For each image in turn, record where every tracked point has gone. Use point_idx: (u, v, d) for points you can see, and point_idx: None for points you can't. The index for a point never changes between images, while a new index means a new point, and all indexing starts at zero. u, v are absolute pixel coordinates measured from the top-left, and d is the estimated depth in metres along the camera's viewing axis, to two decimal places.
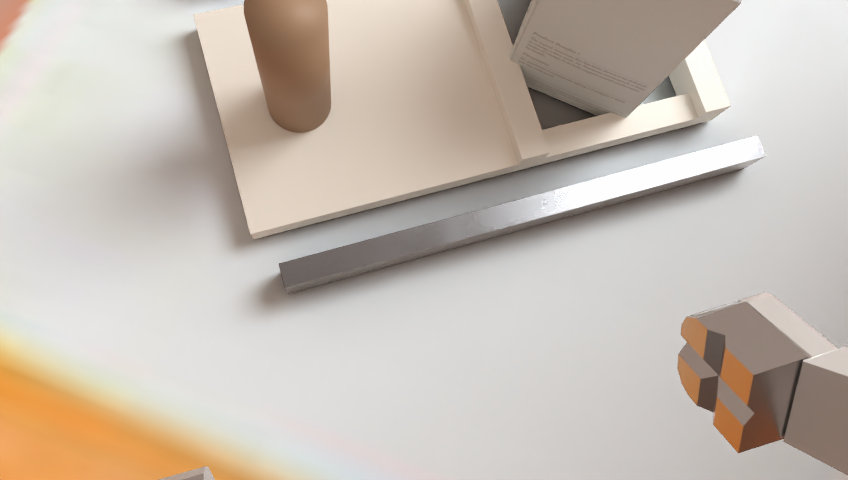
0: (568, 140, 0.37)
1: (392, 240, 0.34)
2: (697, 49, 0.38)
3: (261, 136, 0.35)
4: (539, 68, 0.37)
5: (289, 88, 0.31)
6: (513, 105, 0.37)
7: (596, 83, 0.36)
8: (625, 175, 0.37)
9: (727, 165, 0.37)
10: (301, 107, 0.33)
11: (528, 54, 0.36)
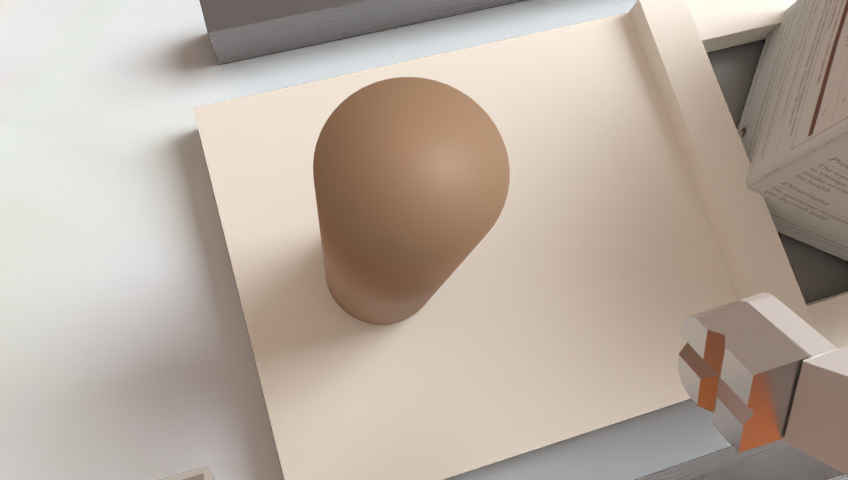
0: (845, 327, 0.21)
1: None
2: None
3: (315, 333, 0.20)
4: (803, 206, 0.21)
5: (392, 298, 0.15)
6: (758, 272, 0.21)
7: None
8: None
9: None
10: (402, 309, 0.17)
11: (795, 185, 0.20)
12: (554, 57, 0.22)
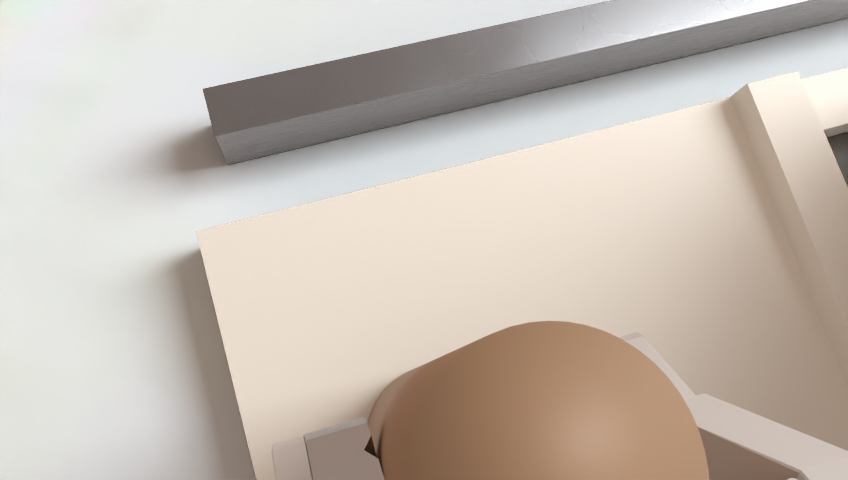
0: None
1: None
2: None
3: None
4: None
5: None
6: None
7: None
8: None
9: None
10: None
11: None
12: (643, 156, 0.18)
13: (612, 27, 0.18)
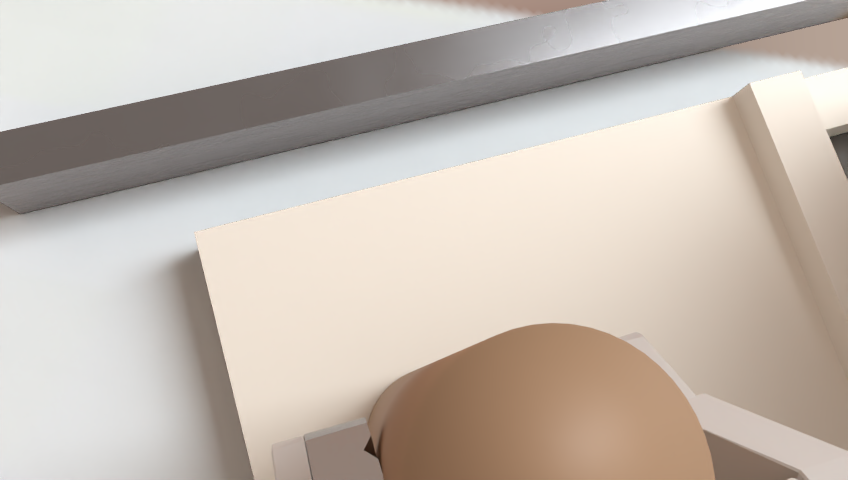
0: None
1: None
2: None
3: None
4: None
5: None
6: None
7: None
8: None
9: None
10: None
11: None
12: (644, 155, 0.18)
13: (426, 68, 0.17)
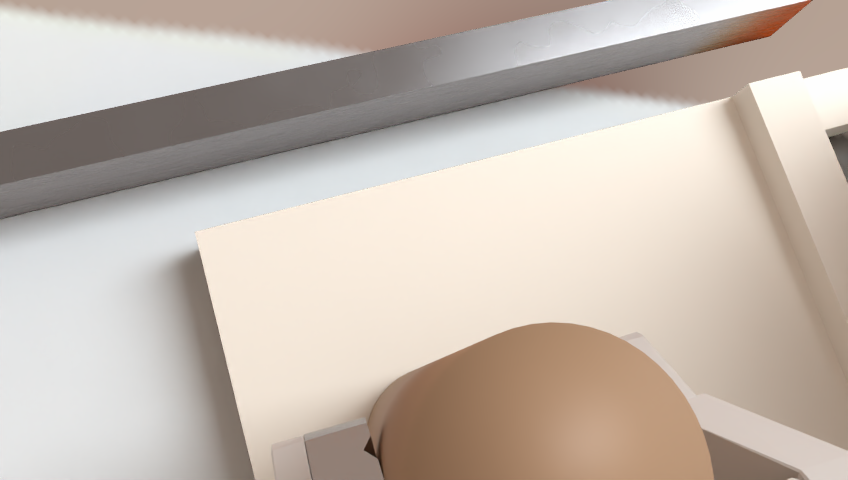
0: None
1: None
2: None
3: None
4: None
5: None
6: None
7: None
8: None
9: None
10: None
11: None
12: (644, 155, 0.18)
13: (217, 115, 0.16)
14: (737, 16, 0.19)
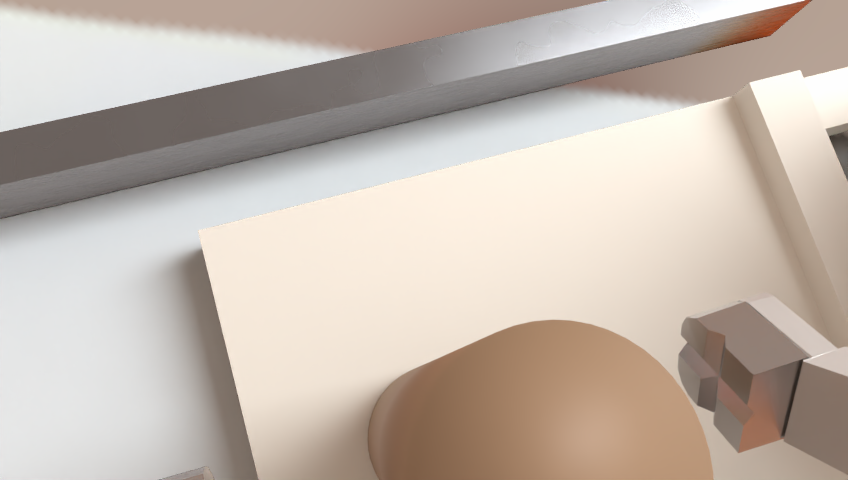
0: None
1: None
2: None
3: None
4: None
5: None
6: None
7: None
8: None
9: None
10: None
11: None
12: (644, 155, 0.18)
13: (219, 115, 0.16)
14: (738, 16, 0.19)
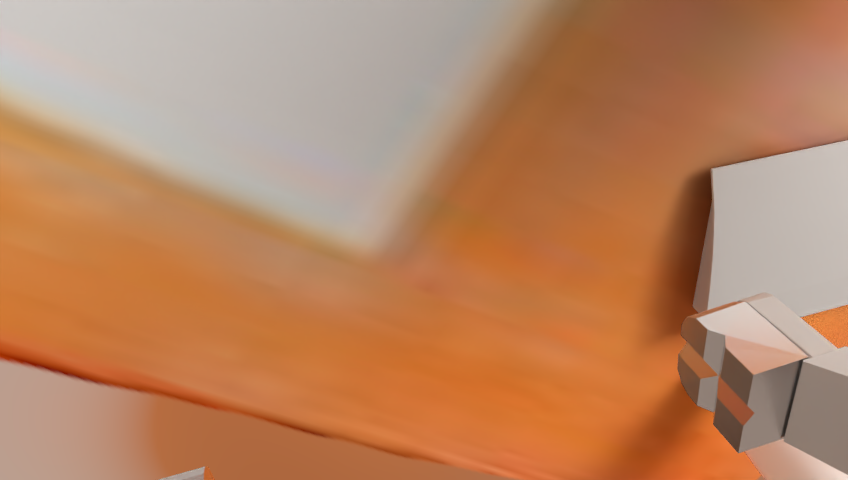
0: None
1: None
2: None
3: None
4: None
5: None
6: None
7: None
8: None
9: None
10: None
11: None
12: None
13: None
14: None
